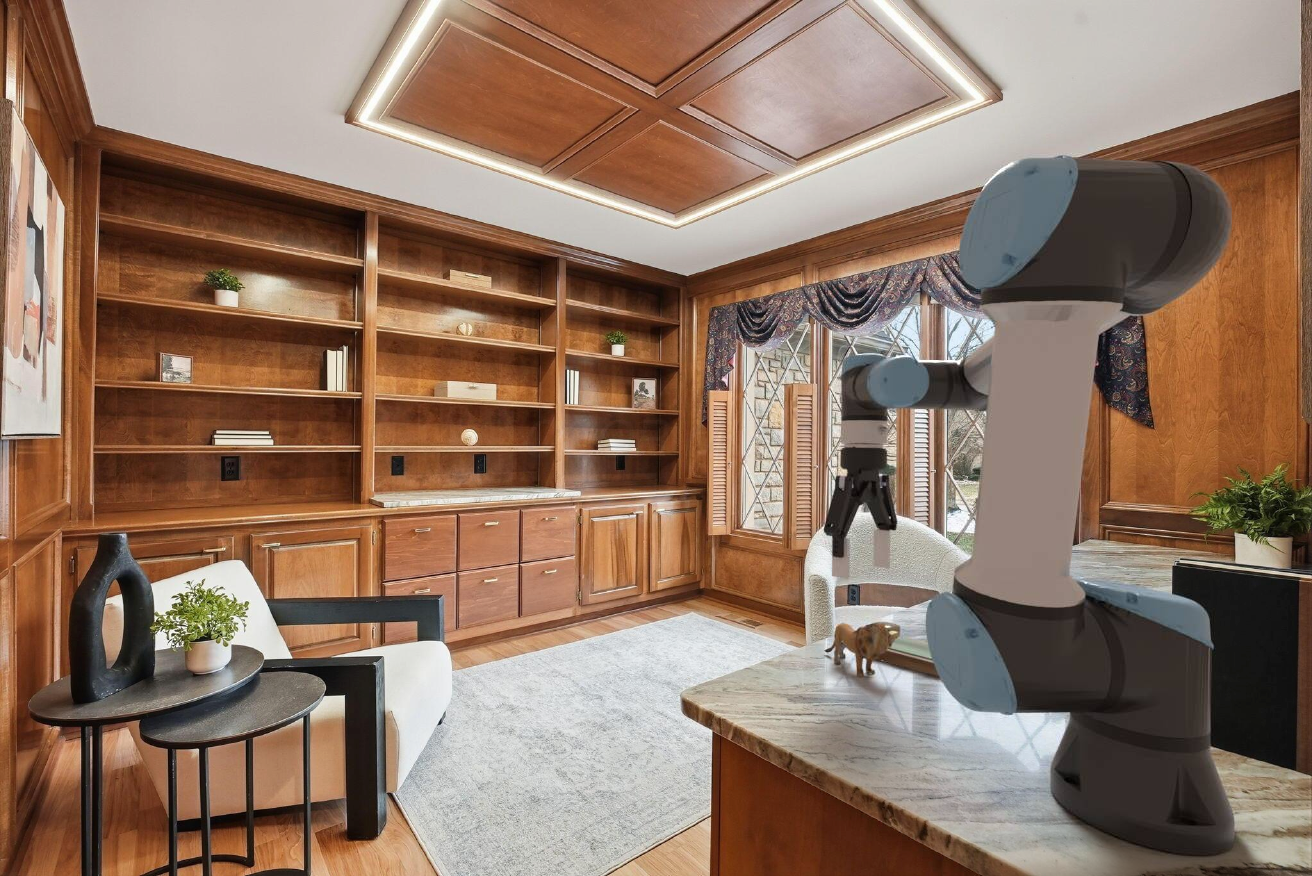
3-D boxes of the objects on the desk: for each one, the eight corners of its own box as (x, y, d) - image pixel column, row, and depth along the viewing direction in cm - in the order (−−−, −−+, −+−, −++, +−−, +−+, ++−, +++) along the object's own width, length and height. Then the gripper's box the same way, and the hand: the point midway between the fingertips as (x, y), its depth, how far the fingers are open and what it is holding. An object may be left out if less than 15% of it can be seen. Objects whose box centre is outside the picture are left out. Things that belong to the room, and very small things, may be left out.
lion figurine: (899, 680, 101) (900, 624, 101) (875, 685, 99) (876, 628, 99) (835, 652, 114) (836, 603, 114) (812, 656, 112) (813, 606, 112)
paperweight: (892, 646, 118) (892, 630, 118) (868, 640, 122) (868, 625, 122) (904, 641, 122) (904, 625, 122) (880, 635, 125) (880, 620, 125)
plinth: (993, 691, 96) (993, 672, 97) (867, 656, 112) (867, 640, 112) (1015, 676, 103) (1015, 658, 103) (893, 645, 119) (894, 629, 119)
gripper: (844, 446, 95) (842, 586, 94) (918, 447, 112) (916, 566, 111) (802, 445, 100) (800, 577, 100) (878, 446, 117) (877, 560, 117)
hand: (861, 572), depth 106 cm, fingers open, 13 cm apart
